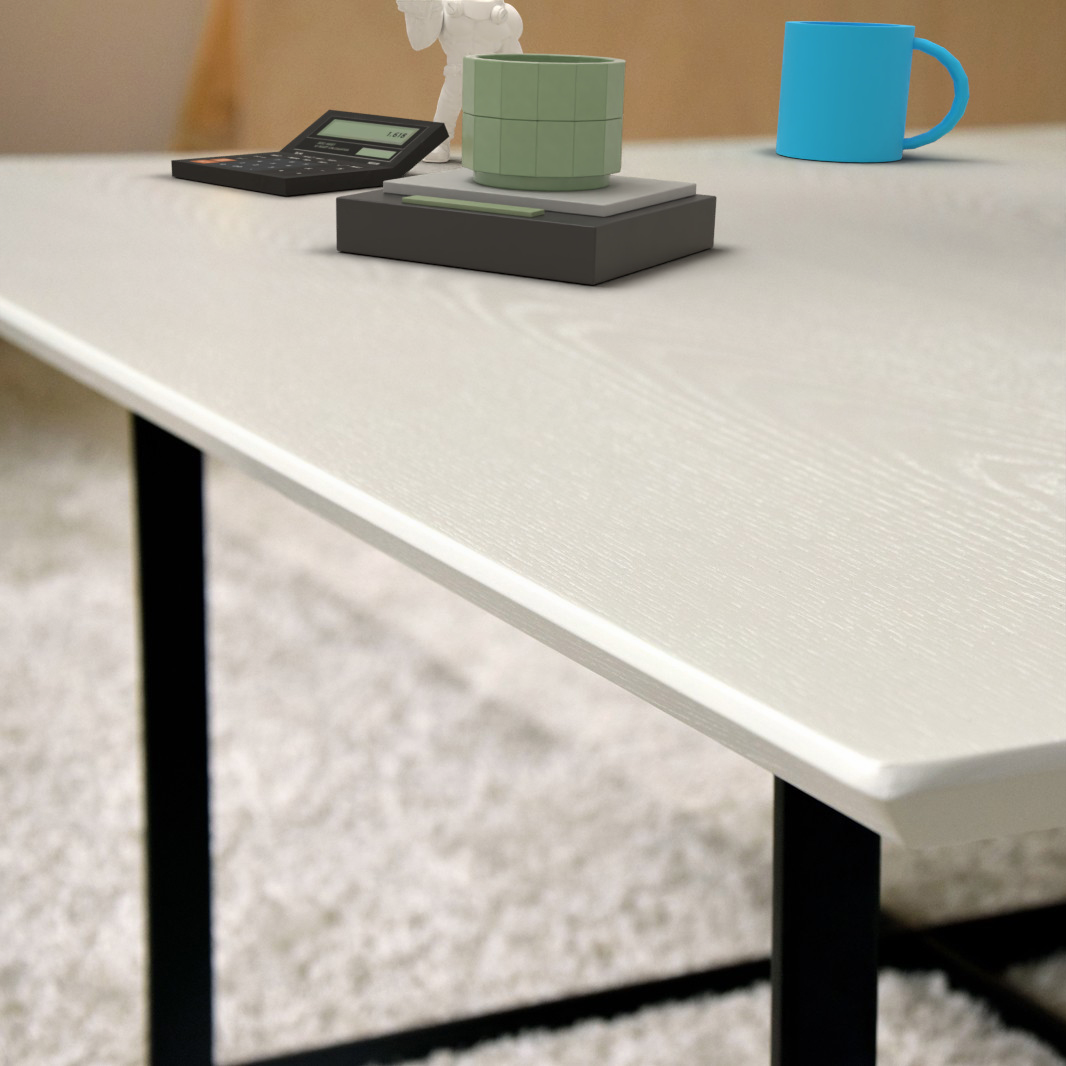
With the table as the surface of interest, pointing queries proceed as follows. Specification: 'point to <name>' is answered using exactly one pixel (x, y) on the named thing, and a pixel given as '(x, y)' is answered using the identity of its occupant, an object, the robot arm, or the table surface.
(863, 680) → the table surface
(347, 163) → the calculator
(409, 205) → the scale
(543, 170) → the pot
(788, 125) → the mug
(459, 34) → the figurine
